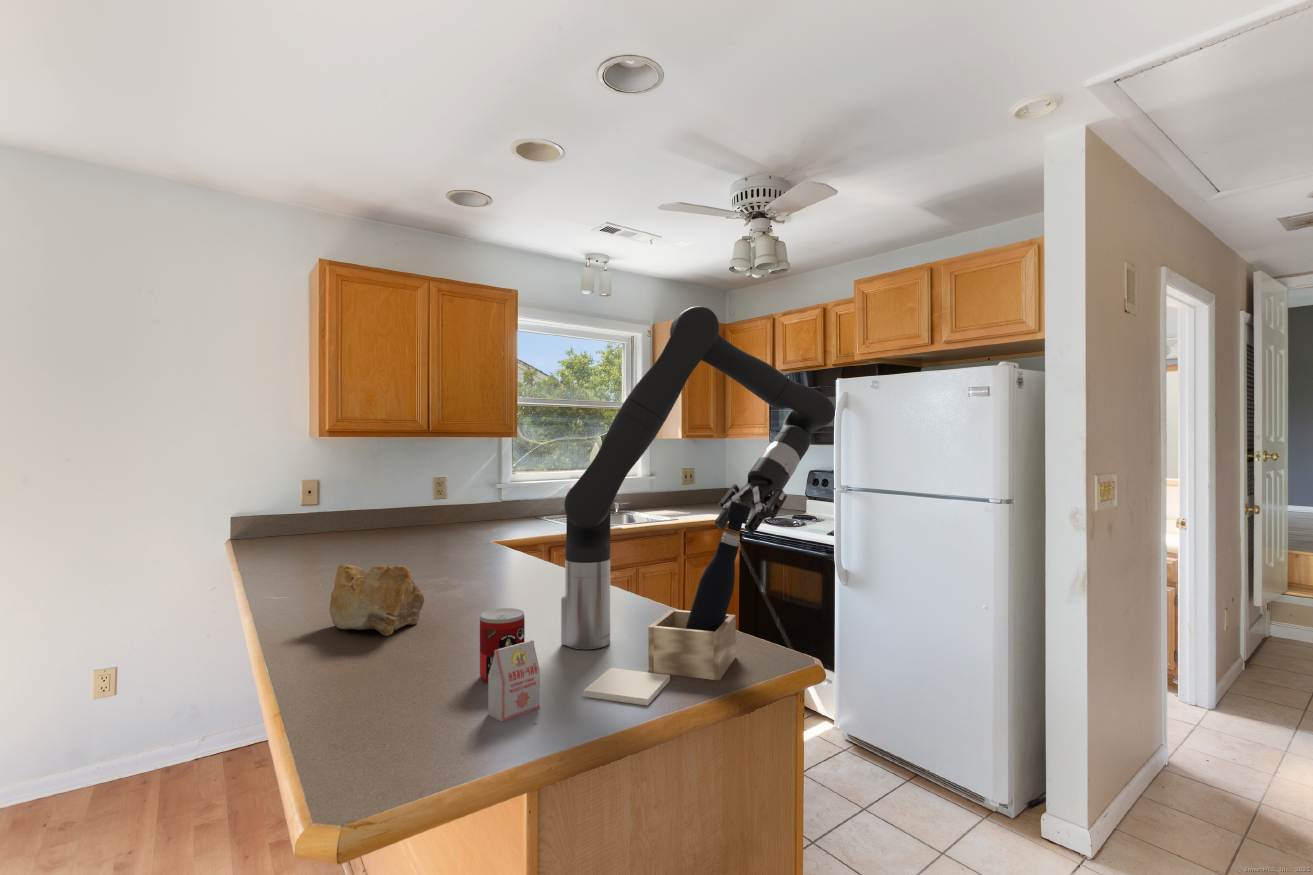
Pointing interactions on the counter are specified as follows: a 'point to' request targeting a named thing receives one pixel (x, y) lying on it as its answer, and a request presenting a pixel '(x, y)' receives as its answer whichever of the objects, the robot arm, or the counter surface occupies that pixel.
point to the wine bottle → (718, 576)
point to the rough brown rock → (375, 598)
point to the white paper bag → (514, 681)
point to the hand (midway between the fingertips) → (732, 528)
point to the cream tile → (627, 686)
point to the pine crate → (690, 647)
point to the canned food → (499, 634)
